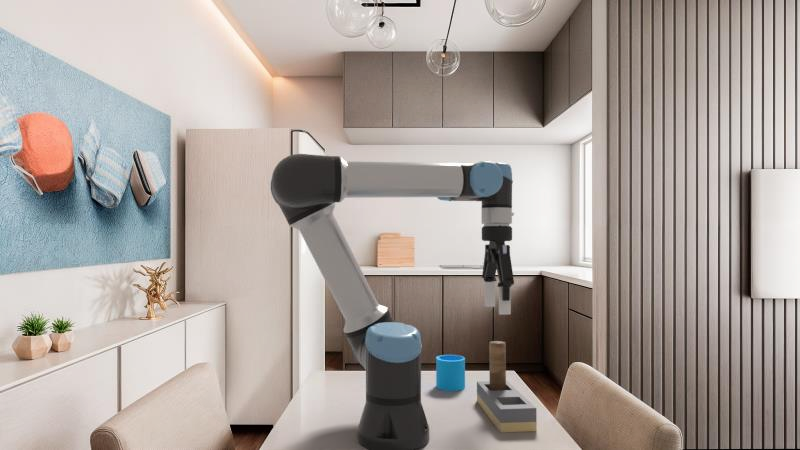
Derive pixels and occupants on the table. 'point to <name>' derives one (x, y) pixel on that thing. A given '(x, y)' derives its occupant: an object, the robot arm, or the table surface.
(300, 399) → the table surface
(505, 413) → the rail
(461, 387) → the mug
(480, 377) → the table surface
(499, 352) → the peg
